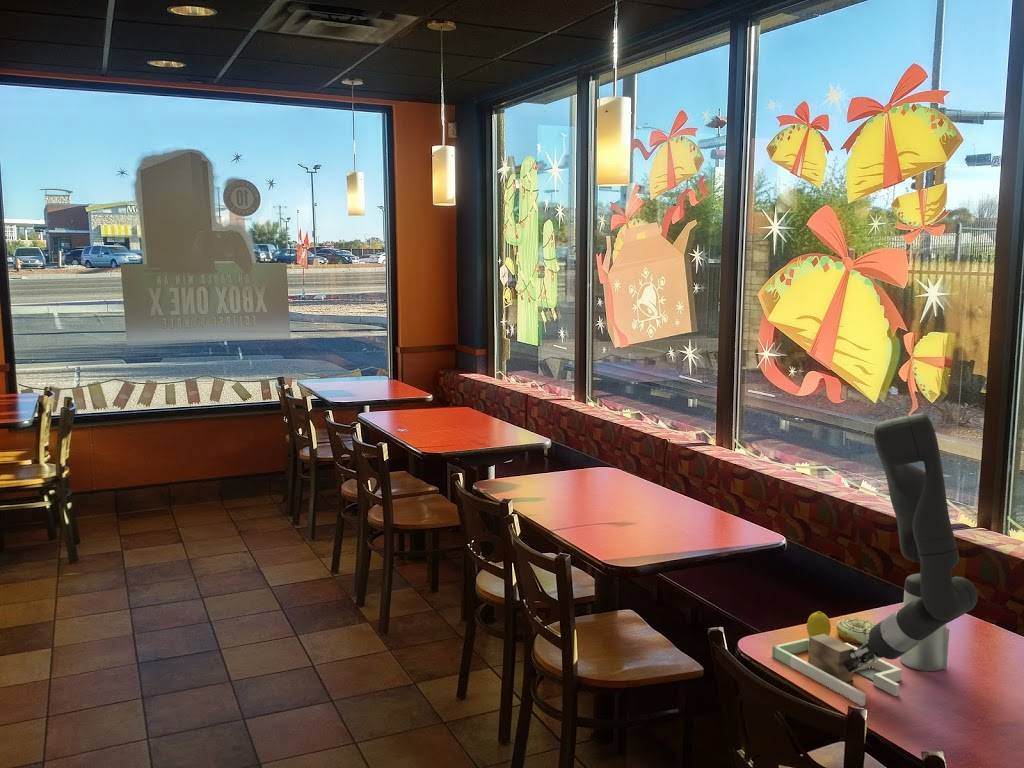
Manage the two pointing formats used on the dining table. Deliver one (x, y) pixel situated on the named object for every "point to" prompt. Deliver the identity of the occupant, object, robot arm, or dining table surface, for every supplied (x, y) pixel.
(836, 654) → the block
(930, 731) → the dining table surface
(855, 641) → the decorated donut
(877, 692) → the dining table surface
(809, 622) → the lemon
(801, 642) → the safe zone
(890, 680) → the box
